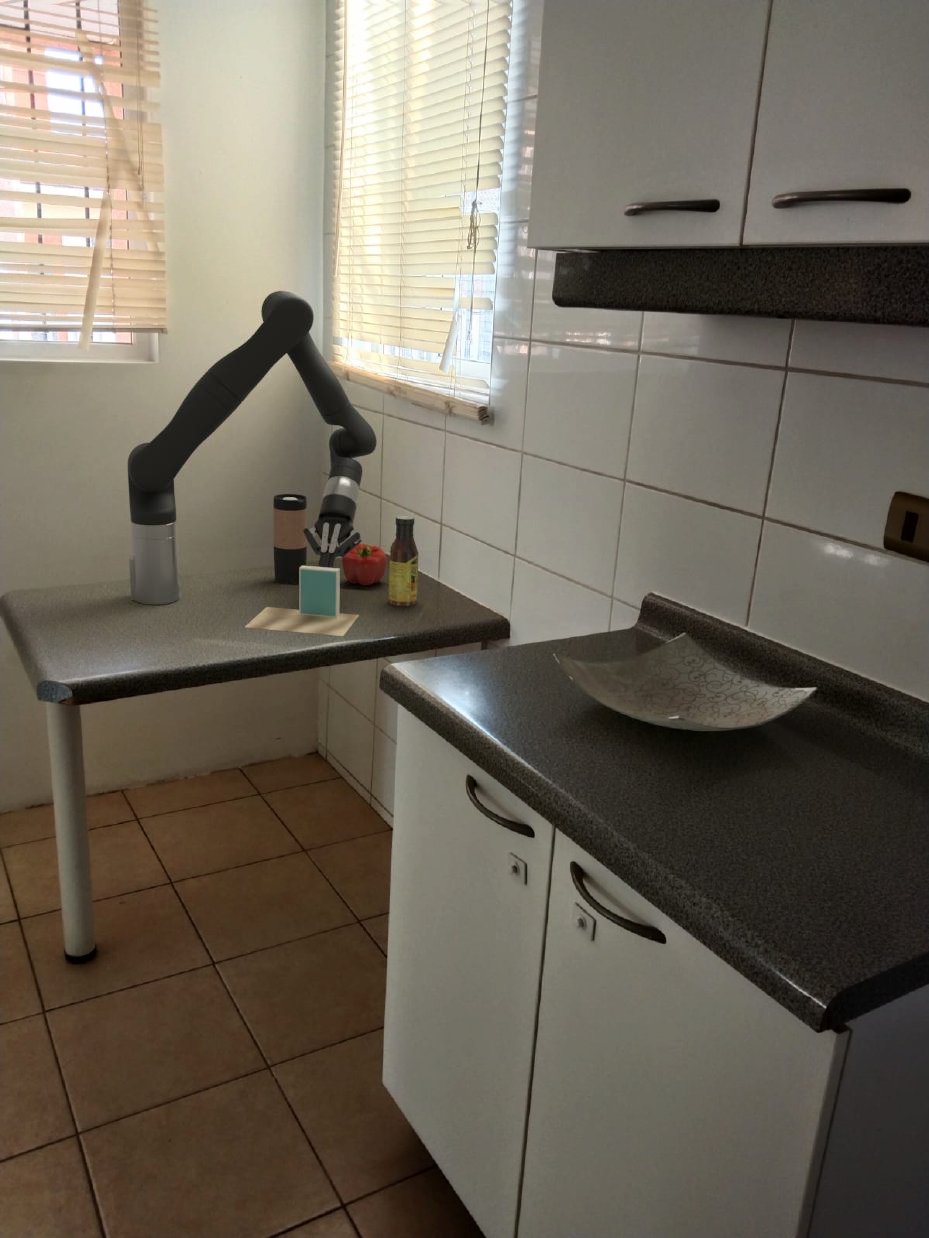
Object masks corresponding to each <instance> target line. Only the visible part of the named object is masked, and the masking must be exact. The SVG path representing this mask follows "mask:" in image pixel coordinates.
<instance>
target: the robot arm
mask: <svg viewBox="0 0 929 1238" xmlns="http://www.w3.org/2000/svg"><path fill="white" fill-rule="evenodd" d="M260 311H261V319H262V323H261V325H260V326H259V327H258V328H257V330H255V332H254V333H253V334H252V335H251V337H249V339H247V340H246V341H245V342H244V343H243V344H241V345H240V346H238V347H237V348H235V349H234V350H232V351H230V352H228V353H227V354H226V355H224V356H223V357H222V358H220V359H219V360H217V361H216V362H215V363H214V364H213V365H212V366H211V367H210V368H208V369H207V371H205V373H204V374H203V375H202V376H201V377H200V379H198V380H197V382H196V383H195V384H194V385H193V387H192V388H191V389H190V391H189V392H188V394H187V395H186V396H185V397H184V399H183V401H182V402H181V404H180V406H179V407H178V409H177V410H176V412H175V414H174V415H173V417H172V418H171V420H170V421H169V423H168V424H167V425H166V426H165V427H164V428H163V429H162V430H161V431H160V433H158V434H157V435H156V436H155V437H154V438H153V439H152V440H151V441H150V442H144V443H140V444H139V445H137V446H135V447H134V448H133V449H132V450H131V451H130V453H129V455H128V458H127V480H128V481H127V482H128V498H129V499H128V501H129V502H128V503H129V513H130V527H131V528H130V531H131V547H132V555H131V556H129V557H128V566H129V567H128V568H129V569H128V570H129V585H130V601H132V600H134V601H133V602H137V603H139V602H140V604H144V605H165V604H171V603H175V602H177V601H178V600H180V581H179V580H180V575H179V556H178V555H179V552H178V551H179V550H178V532H177V531H178V528H177V525H178V524H177V505H176V496H175V495H176V494H175V478H176V477H177V475H178V474H179V472H180V471H181V469H182V468H183V467H184V465H185V464H186V463H187V461H188V460H189V459H190V457H191V456H192V455H193V453H194V452H195V451H196V450H197V449H198V448H199V447H200V446H201V444H203V442H204V441H205V440H207V439H208V438H209V437H210V436H211V435H212V434H213V433H214V432H215V431H217V430H218V429H219V427H221V425H222V424H223V423H224V422H225V421H226V420H227V419H228V418H229V417H230V416H232V415H233V413H234V412H235V411H236V410H237V409H238V407H240V405H241V404H242V403H243V402H244V401H245V400H246V399H247V398H248V396H249V395H250V393H251V392H252V391H253V390H254V389H255V388H256V387H257V386H258V384H260V382H261V381H262V380H263V379H264V378H265V376H266V375H267V374H268V373H269V372H270V370H271V369H272V368H273V367H274V366H275V365H276V364H277V362H279V361H280V360H281V359H282V358H283V357H284V356H285V355H287V357H288V358H289V359H290V360H291V362H292V364H293V365H294V367H295V369H296V371H297V373H298V374H299V377H300V378H301V380H302V382H303V383H304V386H305V388H306V389H307V392H308V394H309V395H310V396H309V397H310V398H311V400H312V401H313V403H314V405H315V407H316V408H317V410H318V413H319V414H320V416H321V418H322V419H323V422H325V423H326V424H327V425H328V426H338V427H341V428H338V429H336V430H334V431H333V432H332V433H331V435H330V438H329V441H328V446H329V456H330V471H329V475H328V480H327V482H326V486H325V488H324V492H323V496H322V499H321V500H322V501H321V503H320V509H319V514H318V518H317V520H316V521H315V523H314V526H313V527H311V528H308V527H307V528H305V529H304V530H303V532H304V535H305V537H306V539H307V543H308V545H310V547H311V549H312V551H313V552H314V553H315V555H317V556H319V560H318V567H327V568H334V565H335V561H336V558H338V557H340V558H342V557H344V556H345V555H346V554H347V553H349V552H350V551H351V550H352V549H353V548H355V547H356V546H357V545H358V544H361V543H362V536H361V534H360V532H356V531H355V529H354V521H355V516H356V510H357V507H358V505H359V494H360V492H359V491H360V486H361V481H362V477H363V467H362V464H361V463H360V462H359V461H358V460H356V458H360V457H365V456H368V455H371V454H372V453H374V451H375V450H376V447H377V444H378V443H377V436H376V434H375V431H374V429H373V427H372V426H371V424H370V423H369V422H368V421H367V420H366V419H365V418H364V417H363V416H362V415H361V414H360V412H359V411H358V410H357V409H356V407H354V406H353V404H352V403H351V402H350V399H349V397H348V395H347V394H346V391H345V390H344V388H343V386H342V384H341V382H340V380H339V379H338V377H337V376H336V374H335V373H334V371H333V370H332V368H331V367H330V365H329V364H328V362H327V361H326V360H325V357H323V355H322V354H321V352H320V351H319V349H318V348H317V347H318V346H316V343H315V341H314V340H313V337H312V335H311V333H310V331H311V329H312V327H313V324H314V318H315V317H314V316H315V315H314V310H313V308H312V306H311V304H310V303H309V302H308V301H307V300H306V299H305V298H303V297H301V296H299V295H297V294H294V293H293V292H290V291H286V290H277V291H276V290H275V291H273V292H271V293H270V294H268V295H267V296H266V297H265V299H264V301H263V302H262V304H261V310H260ZM354 458H355V459H354ZM316 534H317V535H316ZM316 536H318V537H319V539H320V540H321V546H320V545H319V543H318V541H317V540H316V539H315V538H316Z"/></svg>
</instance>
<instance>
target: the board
mask: <svg viewBox="0 0 929 1238" xmlns="http://www.w3.org/2000/svg"><path fill="white" fill-rule="evenodd" d="M359 616H360V614H350V613H342V612H341V613H340V612H339V616H338V617H337V618H335V617H324V616H312V615H301V614H299V609H292V608H285V607H284V608H283V607H272V606H270V607H269V606H265V608H264V609H263V610H261V612H260V613H258V614H257V615H256V616H255V617H254V618H253V619H252V620H251V621H250V622H248V623H247V624H246V625H245V626H244V628H249V629H257V630H258V629H259V630H267V631H268V630H269V631H270V630H271V631H280V632H282V631H283V632H290V633H291V632H292V633H293V632H294V633H303V634H304V633H305V634H314V635H324V636H325V635H326V636H335V637H336V636H337V637H344V636H345V635H346V633H347V632H348V630H349V629H350V628H351V627H352V625H353V624H354V623H355V621H356V620H357V619H358V618H359Z"/></svg>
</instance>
